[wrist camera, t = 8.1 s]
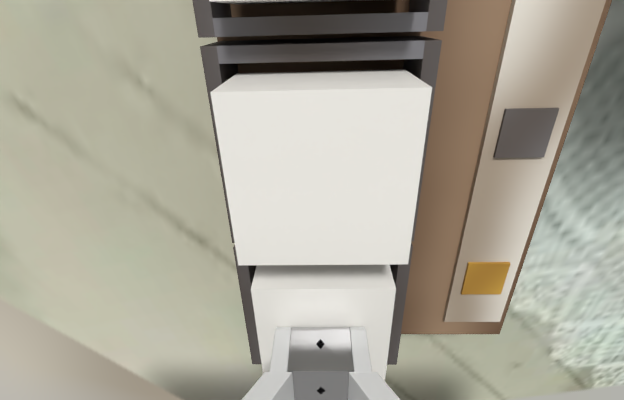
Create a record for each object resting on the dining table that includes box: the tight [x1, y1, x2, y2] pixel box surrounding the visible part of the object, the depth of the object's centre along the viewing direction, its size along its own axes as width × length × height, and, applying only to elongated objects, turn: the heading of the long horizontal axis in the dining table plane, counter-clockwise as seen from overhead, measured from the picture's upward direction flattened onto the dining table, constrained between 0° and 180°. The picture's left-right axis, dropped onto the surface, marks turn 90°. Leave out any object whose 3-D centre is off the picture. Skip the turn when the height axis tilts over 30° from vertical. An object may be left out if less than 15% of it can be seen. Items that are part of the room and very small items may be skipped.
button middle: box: [210, 69, 432, 265], centre depth 9 cm, size 4×4×2 cm
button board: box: [193, 0, 612, 364], centre depth 12 cm, size 11×19×5 cm, turn 1°
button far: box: [251, 265, 396, 381], centre depth 13 cm, size 4×4×2 cm
